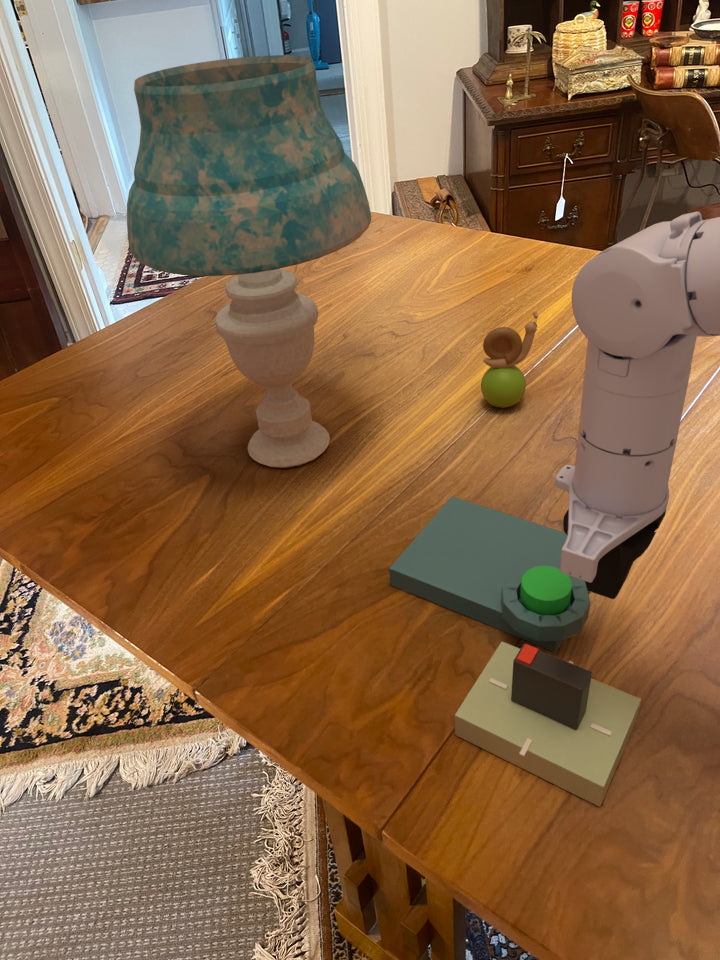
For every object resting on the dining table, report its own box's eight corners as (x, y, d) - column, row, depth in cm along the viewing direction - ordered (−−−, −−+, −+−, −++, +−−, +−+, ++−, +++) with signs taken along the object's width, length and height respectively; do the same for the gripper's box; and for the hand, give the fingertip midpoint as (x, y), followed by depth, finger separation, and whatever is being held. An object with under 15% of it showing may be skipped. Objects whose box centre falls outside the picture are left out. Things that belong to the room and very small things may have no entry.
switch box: (621, 569, 67) (627, 536, 65) (566, 672, 58) (570, 638, 56) (451, 512, 76) (451, 481, 73) (381, 595, 67) (378, 563, 65)
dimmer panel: (639, 713, 55) (644, 691, 53) (596, 815, 49) (601, 793, 47) (503, 656, 60) (504, 634, 59) (450, 741, 54) (450, 719, 53)
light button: (577, 590, 61) (579, 575, 59) (559, 622, 58) (560, 607, 57) (531, 574, 62) (533, 559, 61) (512, 604, 60) (512, 589, 59)
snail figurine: (536, 413, 89) (542, 322, 82) (483, 417, 90) (484, 326, 83) (529, 391, 94) (534, 302, 86) (478, 394, 94) (479, 306, 87)
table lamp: (227, 536, 75) (117, 109, 52) (167, 432, 93) (65, 78, 69) (425, 462, 83) (409, 59, 59) (336, 378, 101) (296, 42, 77)
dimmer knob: (586, 712, 52) (592, 669, 50) (576, 730, 51) (583, 688, 49) (520, 683, 55) (523, 640, 52) (510, 700, 54) (513, 658, 51)
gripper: (603, 365, 51) (585, 515, 59) (516, 475, 42) (509, 635, 50) (710, 386, 48) (675, 543, 56) (641, 511, 39) (611, 676, 47)
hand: (603, 589), depth 53 cm, fingers closed
